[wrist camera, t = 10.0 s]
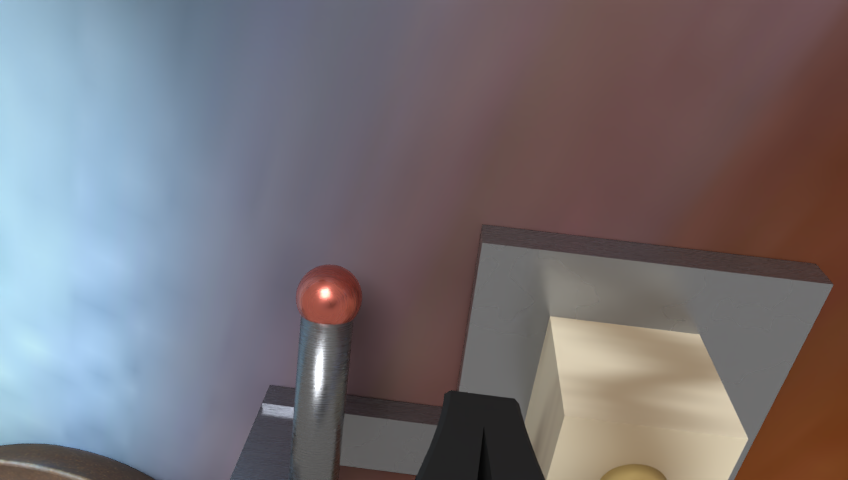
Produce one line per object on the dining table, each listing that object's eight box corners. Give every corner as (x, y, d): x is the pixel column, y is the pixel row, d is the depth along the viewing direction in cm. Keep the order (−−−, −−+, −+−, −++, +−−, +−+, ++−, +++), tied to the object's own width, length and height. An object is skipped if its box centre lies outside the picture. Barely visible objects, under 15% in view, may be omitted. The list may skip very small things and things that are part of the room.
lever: (370, 259, 20) (357, 280, 18) (340, 567, 22) (324, 629, 20) (309, 252, 20) (287, 272, 18) (285, 560, 23) (262, 620, 20)
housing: (699, 334, 21) (762, 469, 16) (657, 438, 23) (701, 581, 19) (549, 316, 21) (568, 444, 16) (524, 422, 24) (534, 559, 19)
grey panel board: (815, 263, 21) (953, 425, 15) (705, 492, 26) (770, 675, 20) (257, 198, 21) (166, 327, 15) (270, 436, 27) (207, 598, 21)
